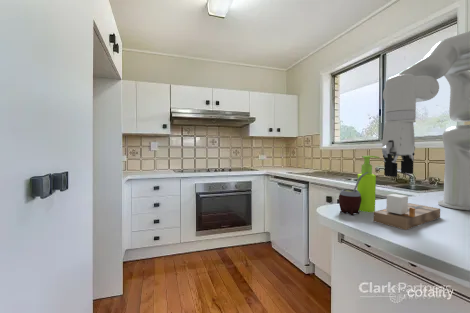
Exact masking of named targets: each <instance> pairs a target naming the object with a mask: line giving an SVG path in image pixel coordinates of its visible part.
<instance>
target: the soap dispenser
mask: <svg viewBox="0 0 470 313" xmlns="http://www.w3.org/2000/svg"><path fill="white" fill-rule="evenodd" d="M361 158H363V159H364V161H363V162H364V163H362V164H361V168H360V169H361V172H360V173H357V180H356V182H357V181H358V178H359V177H360V176H361V175H363V174H364V173H366V172H368V173H367V174H365V175H364V176H363V177H362V178H361V180H360V181H359V183H358V186H357V188H356V190H357V191H359V193H360V194H361V204H360V208H359V212H363V213H374V212H375V211H376V190H377V188H376V186H377V185H376V184H377V183H376V182H377V180H376V179H377V175H376V174H374V173H373V165H372V163H371V164H370V159H371V158H372V159H373V158H374V159H380V156H376V155H362V156H361Z"/></svg>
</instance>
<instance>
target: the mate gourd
mask: <svg viewBox="0 0 470 313" xmlns="http://www.w3.org/2000/svg"><path fill="white" fill-rule="evenodd" d="M367 173H368V172H366V173H364V174H363V175H361V176H360V177H359V178H358V181H357V180H356V184H355V185H354V189H351V188H349V189H347V188H345V189H342V190H341V191H340V192H339V194H338V203H339V209H340V211H339V214H349V215H350V216H355V215H359V214H360V211H359V208H360V204H361V194H360V193H359V191H357V186H358V183H359V181H360V180H361V178H362V177H363V176H364V175H365V174H367ZM354 214H355V215H354Z"/></svg>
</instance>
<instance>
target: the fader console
mask: <svg viewBox="0 0 470 313" xmlns="http://www.w3.org/2000/svg"><path fill="white" fill-rule="evenodd" d="M386 209H387V208H384V209H383V208H382V209H380V210H375V212H373V215H372V216H373V217H372V218H373V219H372V222H375V223H379V224H382V225H384V226H385V225H386V226H390V227H394V228H397V229H401V230H405V231H407V230H410V229H412V228H416V227H418V226H421V225H424V224H427V223H429V222H432V221H435V220H437V219H440V218H441V208H440V207H439V208H438V207H433V206H427V205H421V204H417V203H410V202H408V213H404V214H396V213H392V212H387V211H386Z"/></svg>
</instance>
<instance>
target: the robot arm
mask: <svg viewBox="0 0 470 313" xmlns="http://www.w3.org/2000/svg"><path fill="white" fill-rule="evenodd" d="M443 77H444V78H445V79H446V81H447V82H448V84H449V89H450V92H449V93H450V95H449V110H448V113H449V114H448V115H449V118H450V119H451V121H452V122H460V123H463V122H465V123H466V122H470V30H469V31H465V32H463V33H459V34H457V35H454V36H450V37H447V38H445V39H443V40H440V41H439V42H437V43H436V44H435V45H434V46H432V48H431V49H430V51H429V52H428V53H427V54H426V55H425V56H424V57H423V59H421V60H419V61H417V62H416V63H414V64H412V65H411V66H409V67H407V68H405V69H403V70H402V71H400V72H398V74H396V75H394V76H390V77H389V78H388V79H386V81H385V86H384V89H383V92H382V98H383V101H384V127H383V133H382V134H383V135H382V142H381V143H382V145H381V146H382V148H381V153H382V157H383V163H384V177H392V178H396V177H398V162H397V161H398V160H397V159H399V158H398V157H401V160H400V173H401V174H407V175H408V174H409V175H412V174H414V162H415V161H414V160H415V157H414V156H415V155H416V154H415V150H416V146H415V129H414V128H415V125H414V123H416V119H417V118H416V116H417V115H416V114H417V112H416V110H417V108H416V107H417V104H416V103H421V102H425V101H430V100H432V99H433V98H435V97H436V96H437V95H438V93H439V90H440V84H439V83H440V82H439V81H438V79H439V80H440V79H441V78H443ZM442 143H443V149H444V150H443V151H444V176H443V177H444V179H443V180H444V181H443V199H442V200H438V202H437V203H438V205H439V206H441V207H445V208H447V209H453V210H462V211H470V124H459V125H453V126H450V127H448V128H446V129H444V131H443V133H442Z"/></svg>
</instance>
